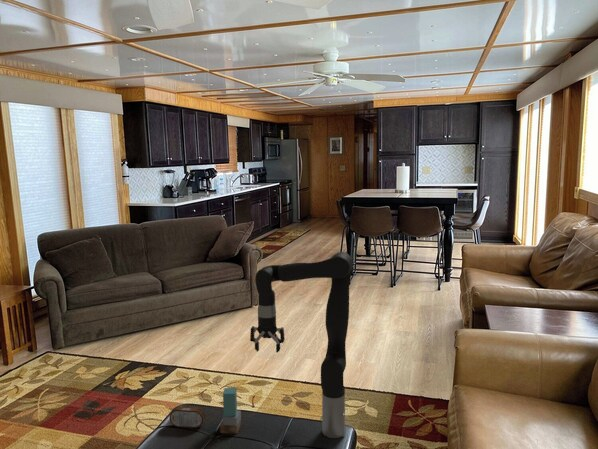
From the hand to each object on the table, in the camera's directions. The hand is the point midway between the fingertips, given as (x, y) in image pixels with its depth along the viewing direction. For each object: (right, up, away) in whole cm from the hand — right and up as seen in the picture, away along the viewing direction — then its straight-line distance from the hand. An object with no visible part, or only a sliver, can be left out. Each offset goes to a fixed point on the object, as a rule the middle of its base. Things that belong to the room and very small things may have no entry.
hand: (267, 351), depth 193 cm
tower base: (-16, -33, 0) cm, 36 cm away
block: (-16, -26, -1) cm, 30 cm away
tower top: (-15, -29, -1) cm, 33 cm away
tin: (-34, -33, +2) cm, 47 cm away
